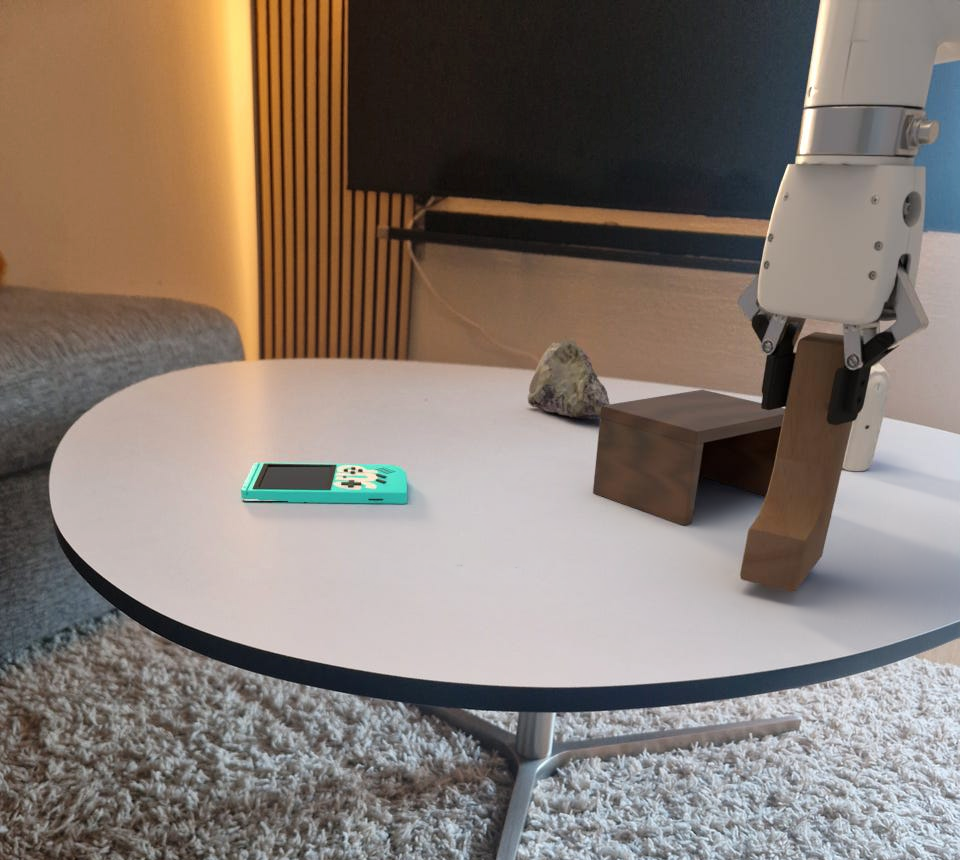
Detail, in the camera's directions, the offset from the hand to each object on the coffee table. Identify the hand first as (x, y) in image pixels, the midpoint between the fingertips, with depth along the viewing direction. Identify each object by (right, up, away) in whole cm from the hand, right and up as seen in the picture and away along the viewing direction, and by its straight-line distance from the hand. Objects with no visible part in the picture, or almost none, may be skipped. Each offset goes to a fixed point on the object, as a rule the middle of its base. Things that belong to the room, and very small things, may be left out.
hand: (808, 412), depth 70 cm
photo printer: (+18, +4, +42) cm, 46 cm away
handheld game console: (-40, -2, +24) cm, 47 cm away
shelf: (-3, -2, +27) cm, 27 cm away
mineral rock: (-13, +13, +57) cm, 59 cm away
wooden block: (0, -12, +6) cm, 13 cm away
